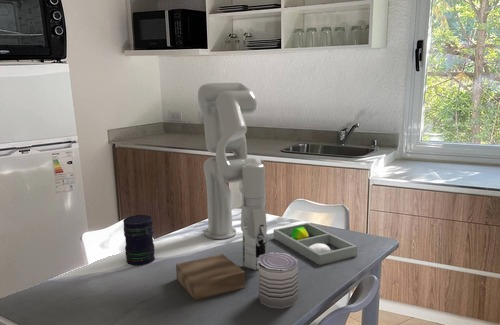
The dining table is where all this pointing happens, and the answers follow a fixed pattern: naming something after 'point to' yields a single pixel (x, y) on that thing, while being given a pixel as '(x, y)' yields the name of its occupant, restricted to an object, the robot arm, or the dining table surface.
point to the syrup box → (250, 250)
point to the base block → (210, 276)
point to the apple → (299, 233)
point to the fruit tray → (320, 237)
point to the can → (278, 280)
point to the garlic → (320, 248)
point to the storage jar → (139, 240)
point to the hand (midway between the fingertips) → (254, 252)
